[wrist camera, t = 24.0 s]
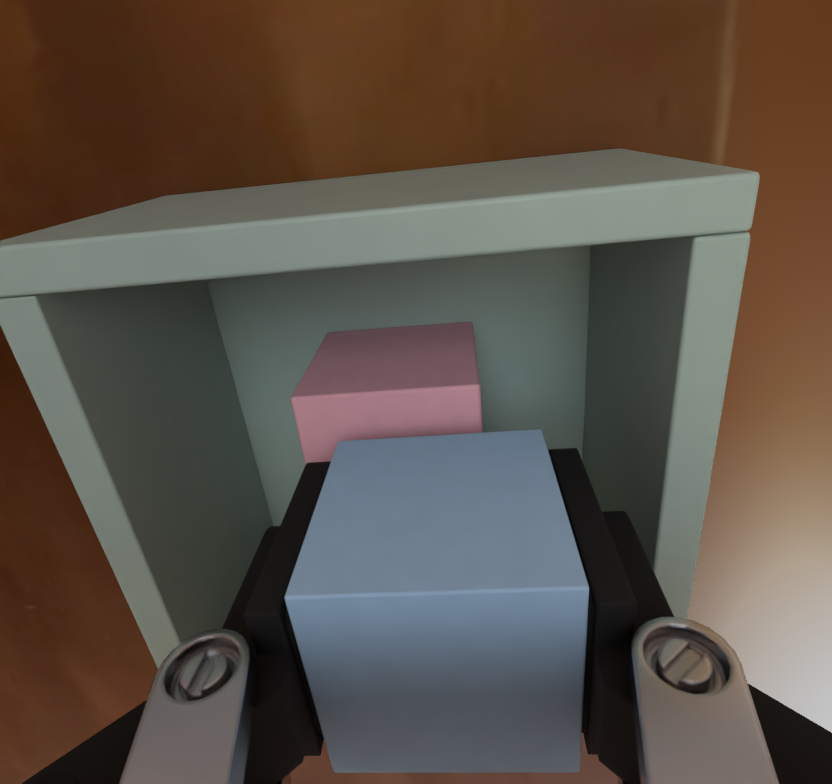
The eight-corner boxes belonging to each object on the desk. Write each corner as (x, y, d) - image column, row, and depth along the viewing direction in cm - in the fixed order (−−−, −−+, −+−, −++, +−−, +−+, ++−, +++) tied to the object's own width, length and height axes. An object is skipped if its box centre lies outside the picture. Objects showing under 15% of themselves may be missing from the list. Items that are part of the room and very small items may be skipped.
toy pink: (326, 331, 15) (289, 397, 11) (472, 320, 15) (480, 385, 11) (348, 454, 17) (322, 544, 13) (479, 446, 16) (488, 537, 13)
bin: (164, 195, 14) (-36, 249, 8) (622, 148, 13) (764, 171, 7) (263, 540, 19) (182, 725, 13) (599, 525, 18) (672, 719, 12)
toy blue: (336, 440, 11) (282, 598, 7) (542, 428, 10) (590, 587, 7) (365, 588, 13) (332, 774, 9) (542, 582, 12) (580, 773, 9)
